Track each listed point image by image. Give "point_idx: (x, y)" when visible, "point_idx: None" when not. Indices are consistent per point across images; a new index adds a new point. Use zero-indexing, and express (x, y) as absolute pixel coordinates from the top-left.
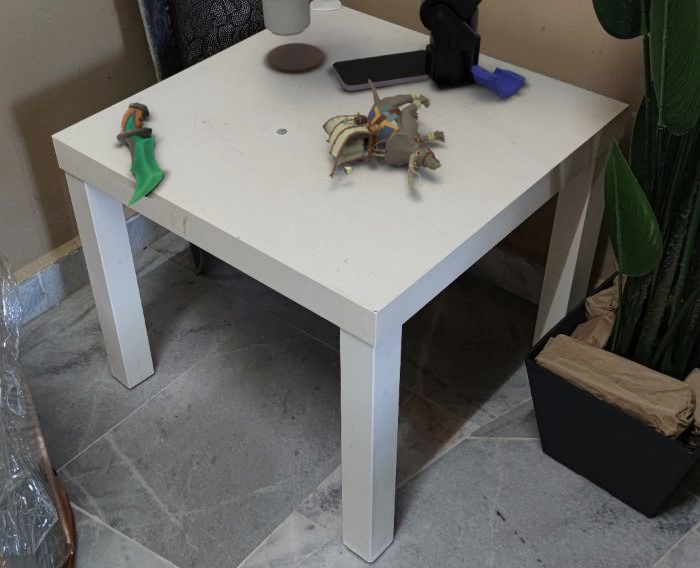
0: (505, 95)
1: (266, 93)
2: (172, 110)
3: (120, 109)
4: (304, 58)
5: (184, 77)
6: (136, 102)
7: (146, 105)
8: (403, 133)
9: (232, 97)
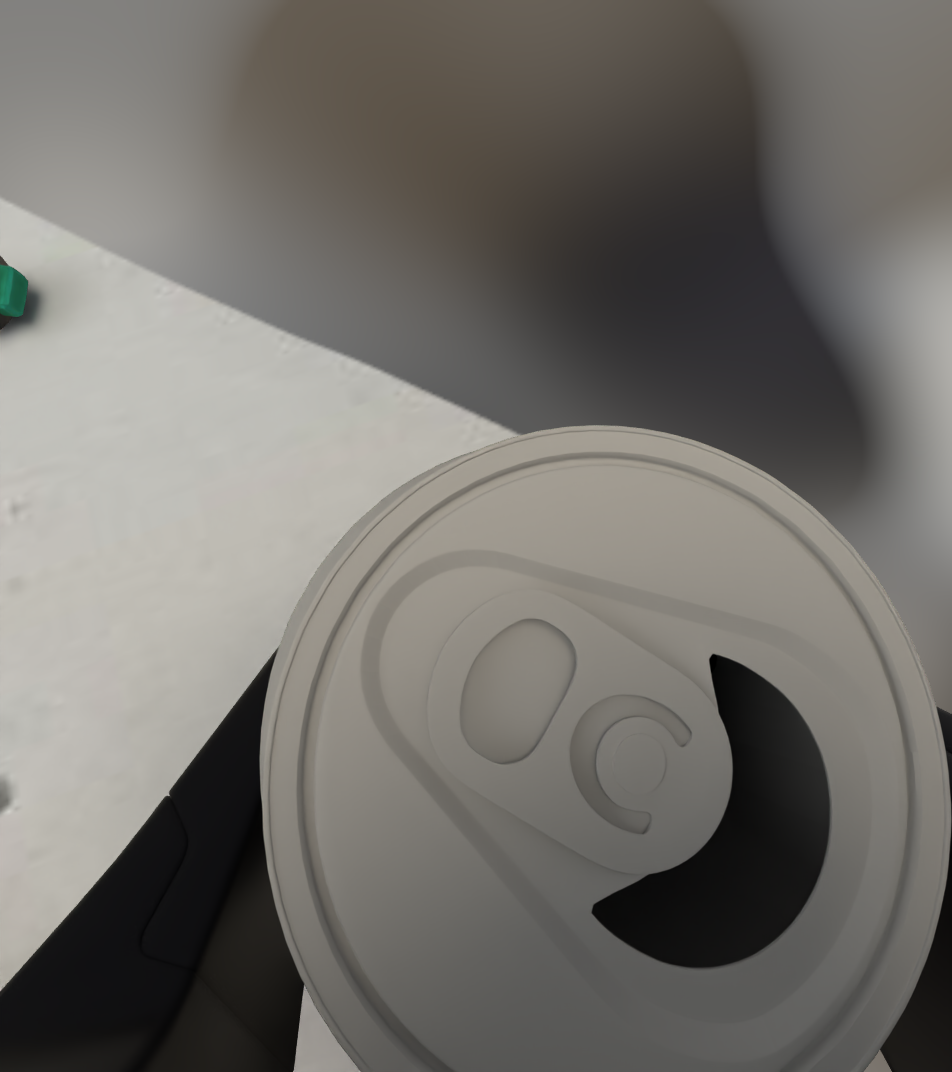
0: None
1: (249, 643)
2: (78, 386)
3: (57, 237)
4: None
5: (294, 351)
6: (5, 268)
7: (6, 304)
8: None
9: (199, 541)
